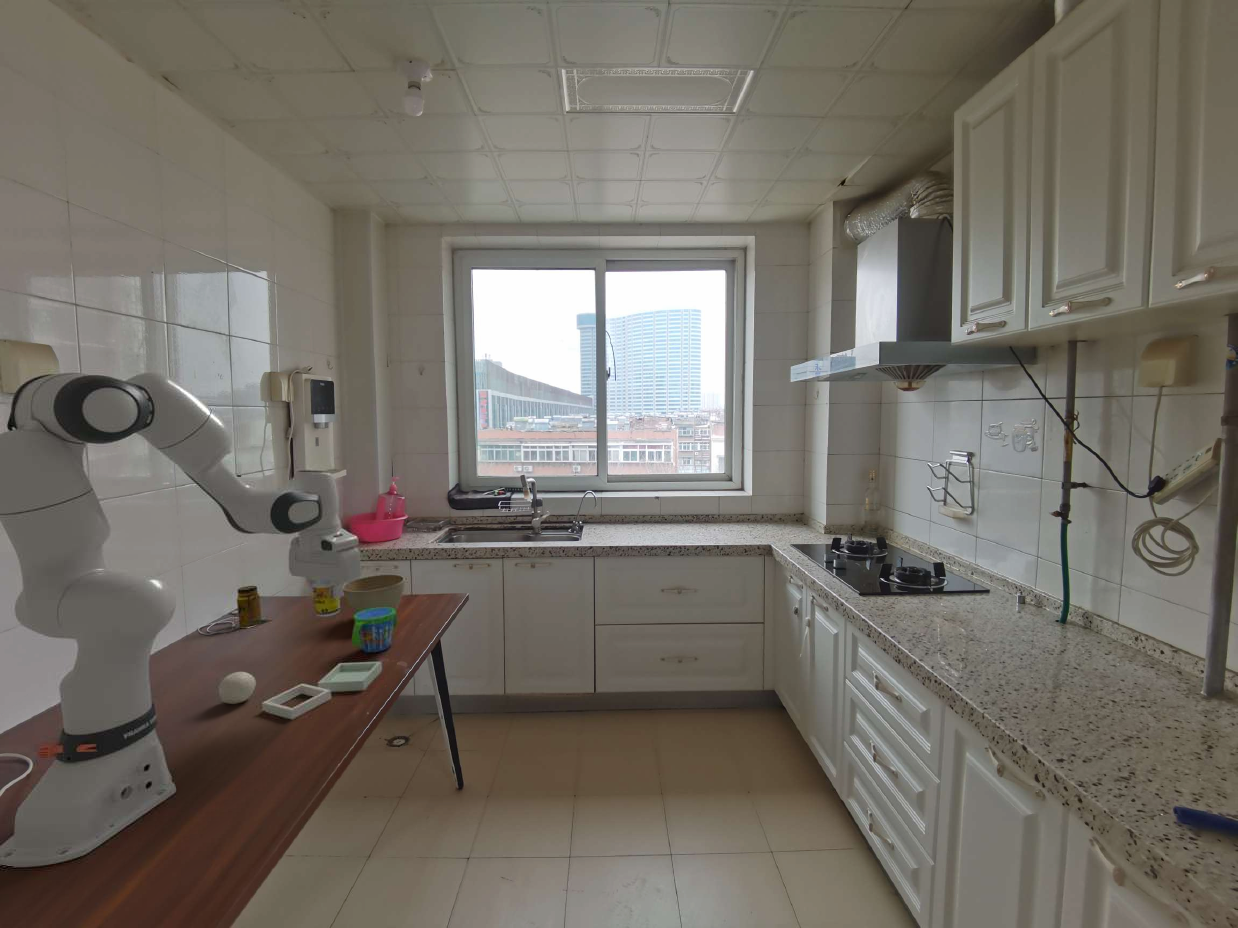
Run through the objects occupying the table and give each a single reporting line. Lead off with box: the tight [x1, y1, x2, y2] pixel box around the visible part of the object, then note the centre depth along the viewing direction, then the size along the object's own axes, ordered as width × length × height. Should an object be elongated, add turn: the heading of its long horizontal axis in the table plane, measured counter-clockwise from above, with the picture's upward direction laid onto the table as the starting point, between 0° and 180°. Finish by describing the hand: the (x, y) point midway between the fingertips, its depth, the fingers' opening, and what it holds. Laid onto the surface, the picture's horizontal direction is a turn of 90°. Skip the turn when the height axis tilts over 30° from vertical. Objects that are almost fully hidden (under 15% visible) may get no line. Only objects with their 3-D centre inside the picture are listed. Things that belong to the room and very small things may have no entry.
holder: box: [261, 683, 332, 720], centre depth 126 cm, size 10×10×2 cm
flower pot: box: [342, 574, 405, 615], centre depth 181 cm, size 18×18×12 cm
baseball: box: [217, 671, 257, 705], centre depth 129 cm, size 7×7×7 cm
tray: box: [317, 661, 383, 693], centre depth 137 cm, size 11×11×2 cm
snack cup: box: [351, 607, 399, 653], centre depth 157 cm, size 16×10×10 cm
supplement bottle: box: [313, 576, 341, 618], centre depth 132 cm, size 5×5×10 cm
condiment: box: [233, 585, 273, 629], centre depth 181 cm, size 7×8×12 cm
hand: (326, 596), depth 132 cm, fingers closed on supplement bottle, 5 cm apart
